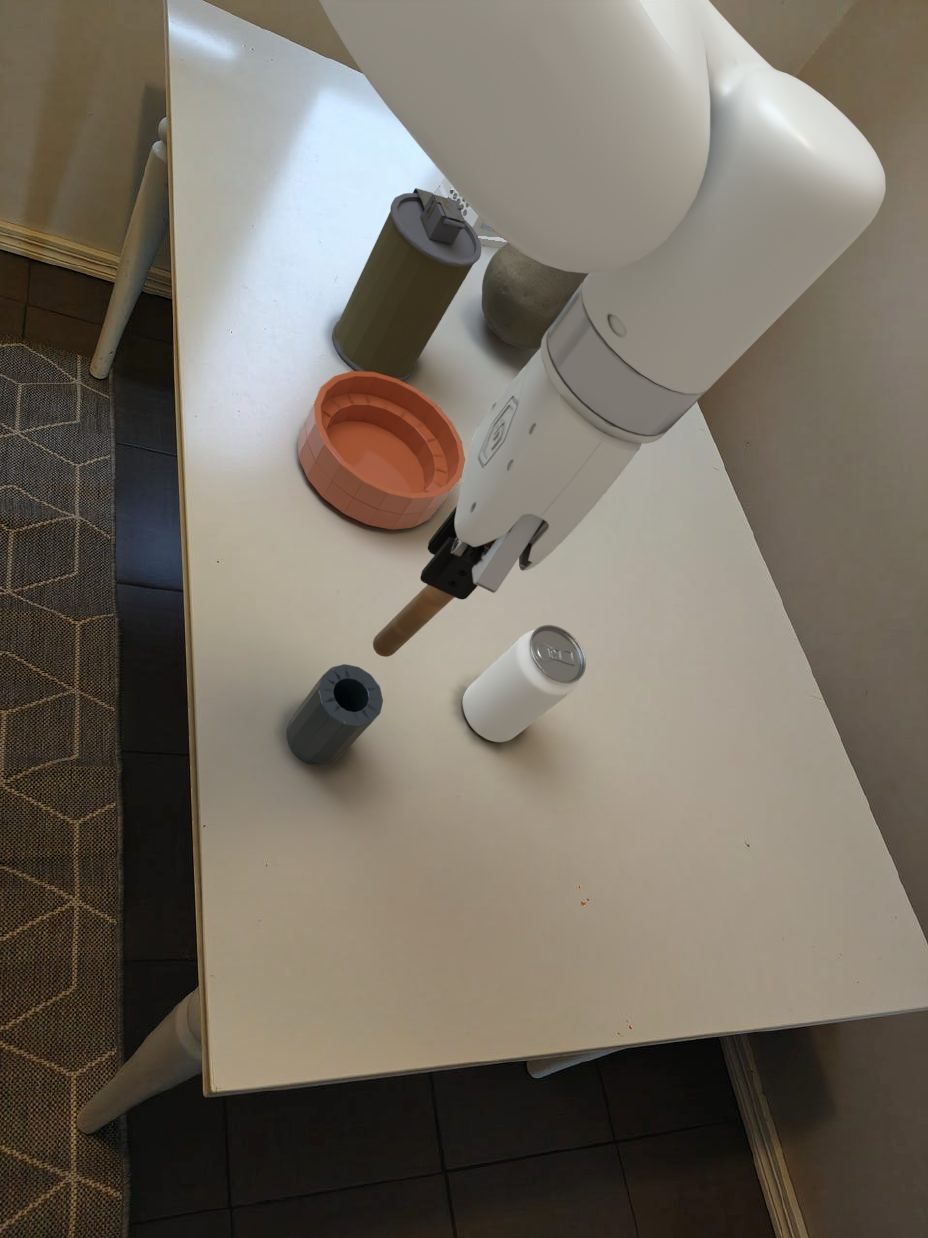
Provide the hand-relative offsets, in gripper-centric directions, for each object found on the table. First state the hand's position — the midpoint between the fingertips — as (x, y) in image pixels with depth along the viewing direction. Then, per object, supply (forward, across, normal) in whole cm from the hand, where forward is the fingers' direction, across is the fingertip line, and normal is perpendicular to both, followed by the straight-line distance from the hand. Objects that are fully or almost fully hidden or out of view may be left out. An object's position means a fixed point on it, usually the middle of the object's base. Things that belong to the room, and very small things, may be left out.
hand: (446, 571), depth 53 cm
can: (+25, -9, +16) cm, 31 cm away
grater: (+25, -91, +2) cm, 94 cm away
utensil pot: (+25, 0, +1) cm, 25 cm away
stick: (+10, 0, 0) cm, 10 cm away
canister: (+25, -51, -6) cm, 57 cm away
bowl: (+25, -32, -2) cm, 40 cm away
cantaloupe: (+25, -67, +10) cm, 72 cm away
